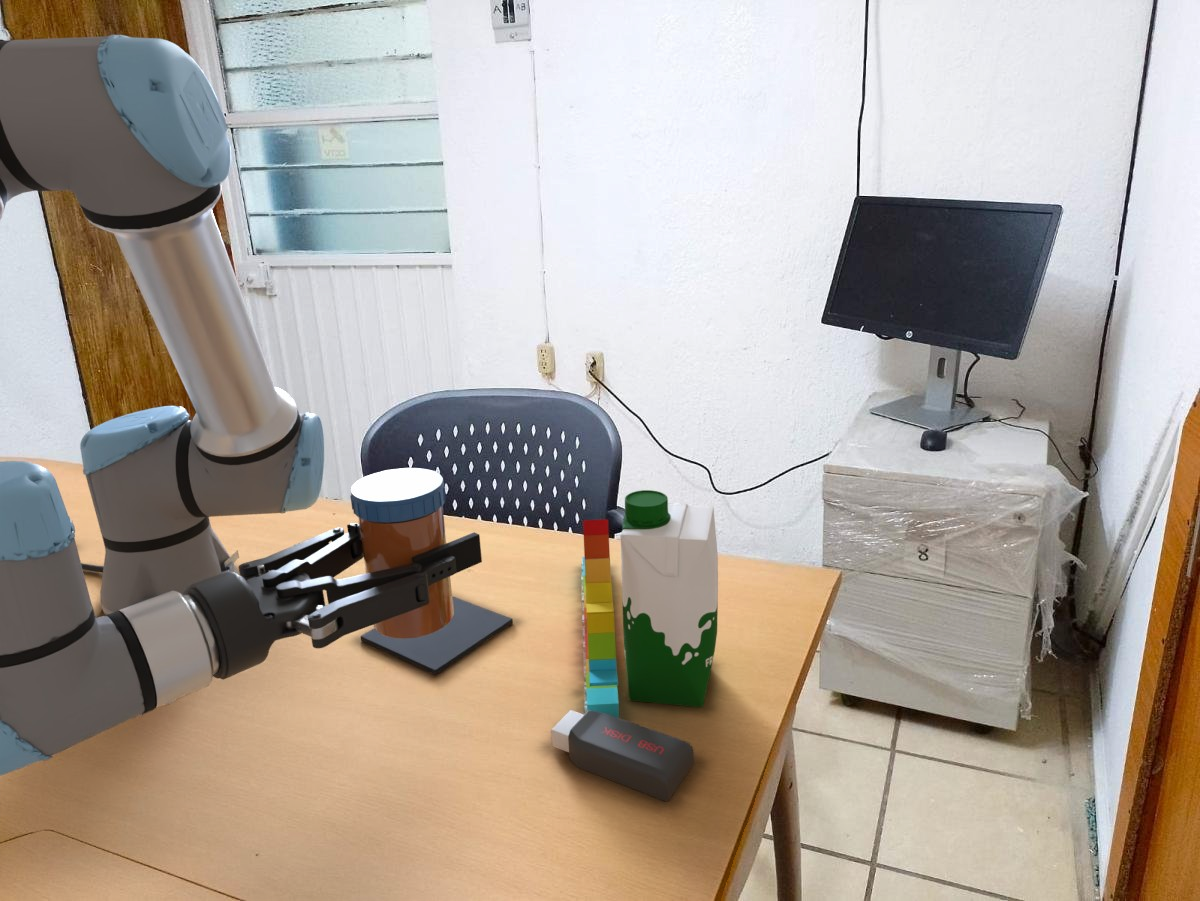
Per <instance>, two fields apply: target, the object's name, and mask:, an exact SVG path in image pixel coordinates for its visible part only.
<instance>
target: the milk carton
mask: <svg viewBox="0 0 1200 901" xmlns="http://www.w3.org/2000/svg"><path fill="white" fill-rule="evenodd" d="M714 509H715V508H714V506H711V505H709V506H708V505H689V504H688V503H685V502H683V503H681V502H676V503H669V498H668V496H667V495H666V494H665V493H664V492H661V491H657V490H651V489H650V490H649V489H644V490H643V489H641V490H636V491H632V492H630V493H628V494H627V495H625V497H624V516H623V519H622V527H621V533H620V536H619V537H620V538H619V539H620V560H621V561H620V564H621V565H620V566H621V568H620V569H621V600H622V601H621V602H622V603H621V604H622V605H621V606H622V633H623V634H622V635H623V636H622V637H623V638H622V639H623V651H624V663H625V670H626V679H627V680H626V681H627V689H628V699H629V701H631V702H632V701H633V702H643V703H652V704H653V703H654V704H664V705H672V706H681V707H683V706H684V707H694V708H695V707H696V708H703V707H704V703H705V698H706V695H707V694H706V693H707V689H708V684H709V680H710V676H711V671H712V667H713V663H714V657H715V652H716V644H717V636H718V616H719V615H718V612H719V611H718V609H719V607H718V604H719V554H718V541H717V533H716V532H717V530H716V521H715V510H714Z"/></svg>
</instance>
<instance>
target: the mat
mask: <svg viewBox="0 0 1200 901" xmlns="http://www.w3.org/2000/svg"><path fill="white" fill-rule="evenodd" d="M452 599H453V608H454V615H453V617H452V619H451V621H450V622H449V623H448V624H447V625H446V626H444V627H443V628H441V629H440V630H438V631H436V632H433V633H431V634H428V635H425V636H421V637H416V638H405V639H401V638H391V637H387V636H385V635H382V634H380V633H379V632H378V631H377V630H376V629H375V627H373V628H372V629H371V630H369V631H367V632H365V633H363V634H362V635H360V641H361V642H363V643H365V644H367V645H369V646H372V647H374V648H377V649H378V650H381V651H383V652H385V653H386V654H390V655H392V656H393V657H396V658H398V659H400V660H402V661H404V662H406V663H409V664H411V665H413V666H416V667H418V668H420V669H422V670H424V671H426V672H428V673H430V674H433V675H435V676H437V675H438V674H440V673H441V672H443V671H444V670H445V669H447V668H449V667H451V666H452V665H453V664H454V663H456V662H458V661H459V660H460V659H462V658H464V657H465V656H466V655H468V654H470V653H471V652H472V651H474V650H475V649H477V648H478V647H480V646H481V645H483V644H485V643H486V642H487V641H489V640H490V639H491V638H493V637H495V636H497V635H498V634H499V633H500V632H502V631H503V630H505V629H506V628H508V627H509V626H511V625H512V624H513V623H514V620H513V618H512V617H508V616H506V615H503V614H501V613H498V612H495V611H494V610H490V609H487V608H486V607H485V608H484V607H482V606H480V605H478V604H474V603H471V602H469V601H467V600H464V599H461V598H459V597H456V596H453V595H452Z"/></svg>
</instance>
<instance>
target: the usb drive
mask: <svg viewBox="0 0 1200 901" xmlns="http://www.w3.org/2000/svg"><path fill="white" fill-rule="evenodd" d="M550 735H551V747H553V748H557V749H559V750H561V751H563V752H566V753H568V758H569V760H570V761H571V762H572V763H573V765H575V766H576V767H577V768H579V769H581V770H585V771H586V772H589V773H592V774H594V775H597V776H600V777H602V778H605V779H607V780H610V781H612V782H614V783H617V784H619V785H622V786H625V787H627V788H630V789H633V790H635V791H637V792H640V793H643V794H645V795H647V796H651V797H652V798H653V797H654V798H655V799H659V800H660V801H663V802H669V800H670V799H671V798H672V796H673V794H674V793H675V792H676V790H677V789H678V787H679V786H680V784H681V783H682V782H683V780H684V779H685V777H686V776H687V775H688V773H689V772H690V770H691V769H692V767H693V766H694V764H695V752H694V748H693V746H692V744H691V743H689V742H687V741H686V740H684V739H681V738H679V737H675V736H672V735H670V734H666V733H663V732H661V731H657V730H654V729H652V728H649V727H646V726H643V725H640V724H637V723H634V722H631V721H629V720H626V719H623V718H620V717H619V718H617V717H614V716H612V715H609V714H605V713H600V712H596V711H591V710H588V711H587V712H586V713H585V712H584V713H582V712H581V713H580V712H577V711H575V710H573V709H570V710H568V712H567V713H566V714H565V715H564V716H563V717H562V718H561V719H560V720H559V721H558V722H557V723H556V724H555V725H554V726H553V727H552V728H551V730H550Z"/></svg>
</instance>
